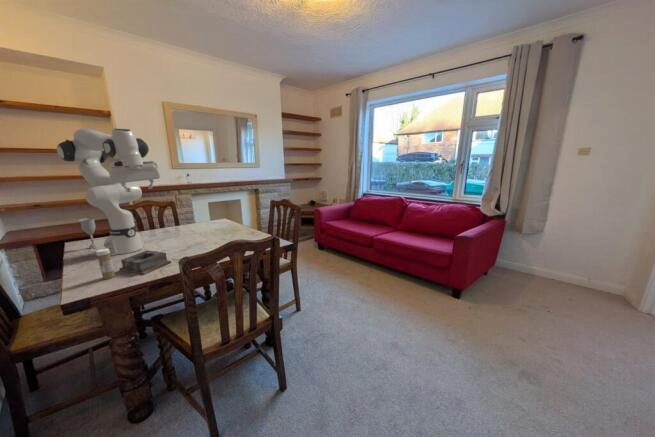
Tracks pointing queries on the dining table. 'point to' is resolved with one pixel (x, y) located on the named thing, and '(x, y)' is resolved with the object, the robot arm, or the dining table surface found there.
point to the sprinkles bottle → (105, 263)
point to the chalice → (89, 229)
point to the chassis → (144, 262)
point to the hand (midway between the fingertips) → (140, 190)
